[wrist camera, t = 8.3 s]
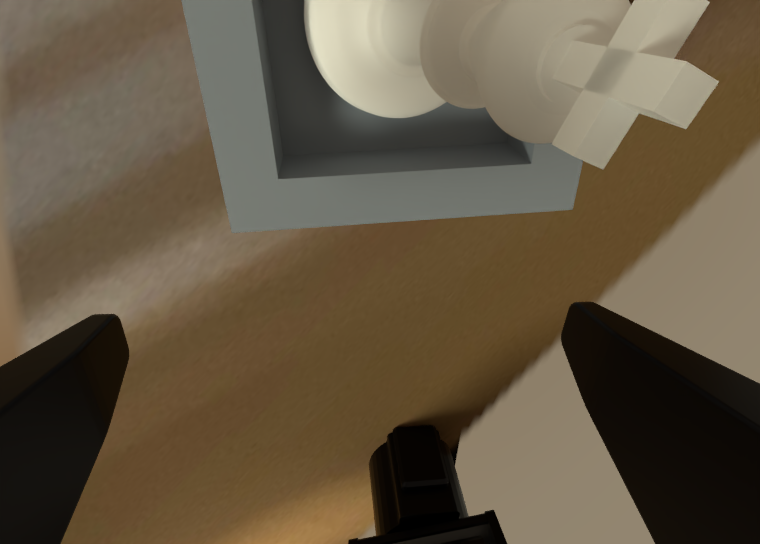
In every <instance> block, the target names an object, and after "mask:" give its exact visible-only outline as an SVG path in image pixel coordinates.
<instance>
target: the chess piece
mask: <svg viewBox="0 0 760 544" xmlns="http://www.w3.org/2000/svg"><path fill="white" fill-rule="evenodd" d="M709 3H710V2H709V1H707V0H634V1H633V3H632V5H631V4H630V2H629V0H304V25H305V32H306V38H307V42H308V46H309V49H310V52H311V55H312V57H313V60H314V62H315V64H316V66H317V68H318V70H319V72H320V73H321V75H322V76H323V78H324V79H325V81H326V82H327V83H328V85H329V86H330V87H331V88H332V89H333V90H334V91H335V92H336V93H337V94H338V95H339V96H340V97H341V98H343V99H344V100H345V101H347V102H348V103H350V104H351V105H353V106H355V107H356V108H358V109H361V110H363V111H365V112H368V113H371V114H374V115H377V116H382V117H387V118H408V117H414V116H418V115H421V114H424V113H427V112H430V111H432V110H434V109H436V108H438V107H439V106H441V105H443V104H444V103H446V102H448V103H450V104H452V105H454V106H457V107H461V108H467V109H478V108H484V107H485V108H486V110H487V111H488V113H489V115H490V116H491V118H492V119H493V120H494V122H495V123H496V124H497V125H498V126H499V127H500V128H501V129H502V130H503V131H505V132H506V133H507V134H509V135H510V136H512V137H514V138H516V139H518V140H521V141H524V142H529V143H536V144H545V143H552V145H554V146H555V147H557V148H559V149H561V150H563V151H565V152H566V153H568V154H570V155H572V156H574V157H576V158H578V159H581V160H583V161H585V162H587V163H590V164H592V165H594V166H596V167H599V168H601V169H604V167H605V166H606V164H607V163H608V161H609V160H610V158H611V157H612V155H613V153H614V152H615V150H616V149H617V147H618V146H619V144H620V142H621V141H622V139H623V138H624V136H625V135H626V133H627V131H628V130H629V128H630V127H631V125H632V124H633V122H634V120H635V119H636V117H637V116H638V114H639V113H640V114H643V115H646V116H649V117H652V118H655V119H658V120H661V121H663V122H666V123H669V124H672V125H675V126H678V127H681V128H684V129H687V127H688V126H689V124H690V123H691V122H692V120H693V119H694V117H695V116H696V114H697V113H698V111H699V110H700V109H701V107H702V106H703V104H704V103H705V101H706V100H707V98H708V97H709V96H710V94H711V93H712V91H713V90H714V88H715V87H716V85H717V84H718V83H719V81H717V80H716V79H714V78H712V77H711V76H709V75H708V74H706V73H705V72H703V71H701V70H700V69H698V68H697V67H695V66H693V65H692V64H690V63H689V62H687V61H682V60H677V59H674V58H675V56H676V55H677V53H678V52H679V50H680V48H681V47H682V45H683V44H684V42H685V41H686V39H687V38H688V36H689V34H690V33H691V31H692V30H693V28H694V27H695V25H696V23H697V22H698V20H699V19H700V17H701V16H702V14H703V12H704V11H705V9H706V8H707V6H708V5H709Z"/></svg>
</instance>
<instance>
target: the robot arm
mask: <svg viewBox="0 0 760 544" xmlns="http://www.w3.org/2000/svg"><path fill="white" fill-rule="evenodd" d="M561 342H562V346H563V348H564V351H565V354H566V356H567V359H568V362H569V364H570V367H571V370H572V372H573V375H574V377H575V380H576V383H577V386H578V388H579V391H580V393H581V396H582V399H583V401H584V403H585V406H586V408H587V410H588V412H589V414H590V416H591V418H592V420H593V422H594V424H595V426H596V428H597V430H598V432H599V434H600V436H601V438H602V440H603V442H604V444H605V446H606V448H607V450H608V452H609V454H610V456H611V458H612V459H613V461H614V463H615V465H616V467H617V469H618V471H619V473H620V475H621V477H622V479H623V481H624V483H625V485H626V487H627V489H628V491H629V493H630V495H631V497H632V499H633V500H634V503H635V505H636V507H637V509H638V511H639V513H640V515H641V516H642V518H643V520H644V522H645V524H646V526H647V528H648V530H649V532H650V534H651V536H652V538H653V540H654V542H655V544H760V383H757V382H755V381H753V380H751V379H749V378H747V377H745V376H743V375H741V374H739V373H737V372H735V371H733V370H731V369H729V368H727V367H725V366H723V365H721V364H718V363H717V362H715V361H712V360H710V359H708V358H706V357H704V356H702V355H700V354H698V353H696V352H694V351H692V350H690V349H688V348H686V347H684V346H682V345H680V344H678V343H676V342H674V341H672V340H670V339H668V338H665V337H663V336H661V335H659V334H657V333H655V332H653V331H651V330H649V329H647V328H645V327H643V326H641V325H639V324H637V323H635V322H633V321H630V320H629V319H627V318H625V317H622V316H620V315H618V314H616V313H614V312H612V311H610V310H608V309H606V308H604V307H602V306H600V305H598V304H596V303H594V302H574V303H573V304H571V306H570V307H569V310H568V313H567V317H566V320H565V323H564V327H563V330H562V334H561ZM128 360H129V348H128V344H127V341H126V337H125V334H124V330H123V327H122V324H121V321H120V319H119V317H118V316H117V315H115V314H95V315H91V316H89V317H88V318H86V319H84V320H82V321H81V322H79V323H77V324H75V325H73V326H72V327H70V328H68V329H66V330H65V331H63V332H61V333H59V334H57V335H56V336H54V337H52V338H50V339H49V340H47V341H45V342H43V343H41V344H40V345H38V346H36V347H34V348H33V349H31V350H29V351H27V352H25V353H24V354H22V355H20V356H18V357H17V358H15V359H13V360H12V361H10V362H8V363H6V364H4V365H2V366H1V367H0V544H61V542H62V539H63V537H64V534H65V532H66V530H67V527H68V525H69V523H70V520H71V518H72V515H73V513H74V511H75V508H76V506H77V504H78V501H79V499H80V497H81V494H82V492H83V489H84V487H85V485H86V482H87V480H88V478H89V475H90V473H91V470H92V468H93V466H94V463H95V461H96V459H97V456H98V454H99V452H100V449H101V447H102V444H103V442H104V439H105V437H106V434H107V432H108V429H109V426H110V423H111V419H112V416H113V412H114V409H115V406H116V402H117V399H118V395H119V392H120V388H121V385H122V381H123V378H124V374H125V371H126V367H127V364H128ZM459 441H460V439H459ZM459 441H458V442H457V443H456V444H455V445H453V446H452V447H451V448H450V449H449V447H448V445H447V444H446V443H445V442H444V441H442V440H441V439H440V436H439V432H438V431H437V430H436V428H435V427H434V426H432V425H428V426H413V427H399V428H394V429H393V433H390V434H388V436H387V442H385V443H384V444H383V445H381V446H380V447H379V448H378V449H377V450H376V451H375V452H374V453H373V455H372V456H371V459H370V462H369V470H370V480H371V490H372V500H373V510H374V520H375V530H376V536H373V537H369V538H363V539H359V540H358V538H355V539H350V540H349V543H348V544H507V542H506V539H505V537H504V534H503V532H502V529H501V527H500V524H499V522H498V519H497V517H496V514H495V512H494V510H490V511H485V513H484V514H479V515H474V516H468V513H467V509H466V505H465V502H464V498H463V494H462V491H461V487H460V484H459V480H458V477H457V473H456V469H455V463H456V457H457V452H458V446H459Z"/></svg>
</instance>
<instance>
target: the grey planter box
mask: <svg viewBox="0 0 760 544" xmlns="http://www.w3.org/2000/svg"><path fill="white" fill-rule="evenodd" d="M181 1H182V5H183V10H184V14H185V19H186V24H187V28H188V33H189V37H190V42H191V47H192V51H193V56H194V61H195V65H196V70H197V74H198V79H199V84H200V88H201V93H202V97H203V102H204V107H205V111H206V116H207V121H208V125H209V130H210V134H211V139H212V144H213V148H214V153H215V157H216V162H217V167H218V171H219V176H220V181H221V185H222V190H223V194H224V199H225V204H226V208H227V213H228V217H229V222H230V227H231V231H232V233H240V232H254V231H269V230H284V229H298V228H313V227H327V226H342V225H356V224H371V223H385V222H400V221H414V220H429V219H443V218H458V217H472V216H487V215H501V214H516V213H530V212H545V211H559V210H573V205H574V201H575V196H576V191H577V186H578V182H579V177H580V172H581V168H582V163H583V160H581V159H578V158H576V157H574V156H572V155H570V154H568V153H566V152H565V151H563V150H561V149H559V148H557V147H555V146H554V145H552V143H545V144H536V143H529V142H524V141H521V140H518V139H516V138H514V137H512V136H510V135H509V134H507V133H506V132H505V131H503V130H502V129H501V128H500V127H499V126H498V125H497V124H496V123H495V122H494V120H493V119H492V118H491V116H490V115H489V113H488V111H487V110H486V108H485V107H484V108H478V109H467V108H461V107H457V106H454V105H452V104H450V103H448V102H446V103H444V104H443V105H441V106H439V107H438V108H436V109H434V110H432V111H430V112H427V113H424V114H421V115H418V116H414V117H408V118H387V117H382V116H377V115H374V114H371V113H368V112H365V111H363V110H361V109H358V108H356V107H355V106H353V105H351V104H350V103H348V102H347V101H345V100H344V99H343V98H341V97H340V96H339V95H338V94H337V93H336V92H335V91H334V90H333V89H332V88H331V87H330V86H329V85H328V83H327V82H326V81H325V79H324V78H323V76H322V75H321V73H320V72H319V70H318V68H317V66H316V64H315V62H314V60H313V57H312V55H311V52H310V49H309V46H308V42H307V38H306V32H305V25H304V0H181Z"/></svg>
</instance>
